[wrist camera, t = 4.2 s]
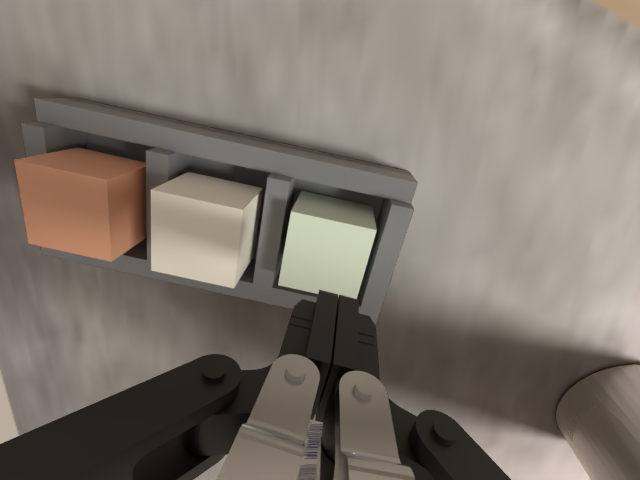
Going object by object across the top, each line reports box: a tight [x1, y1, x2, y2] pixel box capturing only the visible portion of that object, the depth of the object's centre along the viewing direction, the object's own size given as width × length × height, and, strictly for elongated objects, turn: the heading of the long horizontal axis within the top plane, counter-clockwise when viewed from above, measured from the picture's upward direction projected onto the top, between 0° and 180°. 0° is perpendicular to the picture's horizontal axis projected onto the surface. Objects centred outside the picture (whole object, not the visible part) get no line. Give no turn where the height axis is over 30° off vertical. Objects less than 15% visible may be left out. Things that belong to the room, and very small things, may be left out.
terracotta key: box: [14, 148, 147, 262], centre depth 18 cm, size 4×4×4 cm
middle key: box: [151, 172, 263, 288], centre depth 18 cm, size 4×4×4 cm
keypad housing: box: [21, 98, 418, 325], centre depth 21 cm, size 21×9×4 cm, turn 79°
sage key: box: [278, 191, 377, 299], centre depth 19 cm, size 4×4×4 cm
